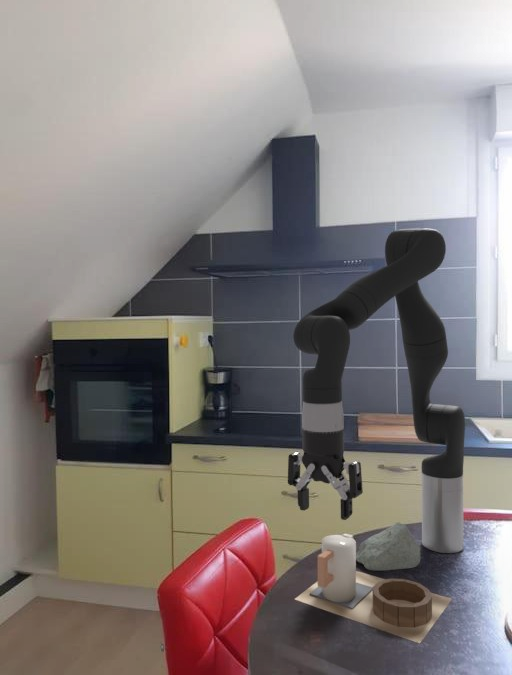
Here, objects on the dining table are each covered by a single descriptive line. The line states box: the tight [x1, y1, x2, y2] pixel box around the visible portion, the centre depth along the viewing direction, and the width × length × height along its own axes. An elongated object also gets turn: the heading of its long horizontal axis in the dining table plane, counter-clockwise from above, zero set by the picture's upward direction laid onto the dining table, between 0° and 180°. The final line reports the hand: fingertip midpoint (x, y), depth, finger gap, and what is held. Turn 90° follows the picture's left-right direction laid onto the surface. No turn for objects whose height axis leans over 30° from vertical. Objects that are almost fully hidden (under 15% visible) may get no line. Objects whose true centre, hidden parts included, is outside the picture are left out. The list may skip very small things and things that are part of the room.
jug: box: [317, 533, 357, 602], centre depth 102 cm, size 11×6×10 cm, turn 143°
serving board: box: [294, 570, 453, 645], centre depth 101 cm, size 17×24×5 cm
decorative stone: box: [356, 522, 422, 571], centre depth 116 cm, size 13×11×10 cm
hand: (324, 513), depth 99 cm, fingers open, 8 cm apart
